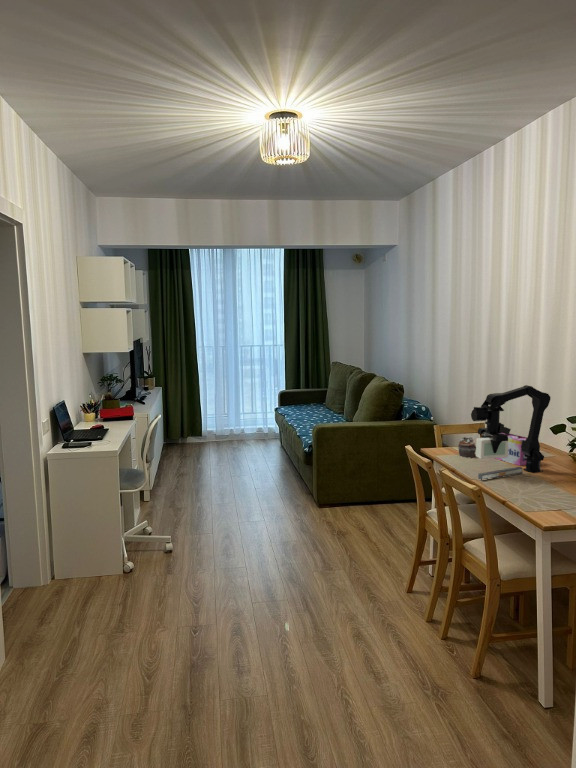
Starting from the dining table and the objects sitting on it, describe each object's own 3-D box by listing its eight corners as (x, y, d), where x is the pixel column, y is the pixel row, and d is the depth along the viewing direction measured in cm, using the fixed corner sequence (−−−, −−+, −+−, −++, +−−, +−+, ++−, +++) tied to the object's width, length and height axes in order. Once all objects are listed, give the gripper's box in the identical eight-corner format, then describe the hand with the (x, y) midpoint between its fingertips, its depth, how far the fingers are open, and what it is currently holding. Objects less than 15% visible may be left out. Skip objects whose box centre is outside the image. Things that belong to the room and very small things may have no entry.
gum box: (532, 464, 312) (534, 439, 310) (521, 466, 308) (523, 440, 306) (497, 454, 333) (498, 430, 331) (486, 456, 329) (487, 431, 327)
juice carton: (502, 454, 299) (502, 436, 298) (507, 457, 294) (508, 439, 293) (475, 456, 296) (476, 438, 295) (481, 458, 291) (481, 440, 290)
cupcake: (456, 456, 329) (456, 438, 327) (459, 452, 337) (460, 435, 336) (474, 458, 324) (474, 440, 323) (477, 454, 333) (478, 436, 331)
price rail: (518, 472, 297) (518, 466, 297) (522, 473, 295) (522, 467, 295) (478, 479, 286) (478, 473, 286) (481, 481, 284) (481, 474, 284)
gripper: (519, 423, 285) (517, 455, 287) (498, 415, 303) (497, 446, 305) (497, 424, 283) (496, 456, 285) (477, 416, 301) (476, 447, 303)
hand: (492, 451), depth 295 cm, fingers closed on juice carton, 5 cm apart
